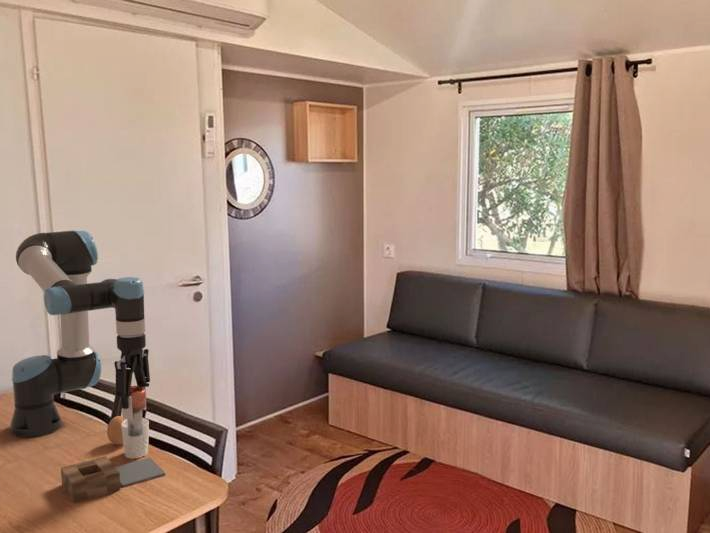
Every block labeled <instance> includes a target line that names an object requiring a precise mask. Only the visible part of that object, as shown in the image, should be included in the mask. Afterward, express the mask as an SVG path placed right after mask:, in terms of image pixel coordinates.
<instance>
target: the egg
mask: <svg viewBox="0 0 710 533" xmlns="http://www.w3.org/2000/svg"><path fill="white" fill-rule="evenodd" d="M125 420H126V419H123V418H122V415H117V416H115V417H113V418H112V419H111V420H110V422H109V423H108V425H107V429H106V430H107V432H106V435H107V438H108V440H109V441H110V443H111V444H114V445H116V446H118V445H123V438H122V427H121V424H122V422H124V421H125Z"/></svg>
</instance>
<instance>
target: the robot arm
mask: <svg viewBox="0 0 710 533" xmlns="http://www.w3.org/2000/svg"><path fill="white" fill-rule="evenodd" d="M98 260H99V254H98V248H97V245H96V242H95V240H94V238H93V236H92V235H91V233H89V232H88V231H86V230H75V229H74V230H66V231H53V232H51V231H50V232H40V233H35V234H33V235H30V236H28V237H27V238H25V239H24V240H23V241H21V243H20V244H19V246H18V247H17V249H16V253H15V261H16V263H17V264H16V265H17V266H18V268H19V269H20V270H21V271H22V272H23V273H24V274H26V275H29V276H30V277H31V278H32V279H33V280H34V282H35V283H36V284H37V285H38V286H39V287H40V289H41V290H42V291H43V293H44V295H43V303H44V306H45V307H44V308H45V309H46V312H47V314H49V315H50V316H57V315H58V316H59V315H60V317H59V318H60V335H61V336H60V337H61V338H60V340H61V347H60V348H59V349H58V350H57V351H56V357H55V358H52V356H50V355H47V354H43V355H33V356H29V357H26V358H24V359H22V360H21V359H20V360H19V361H18V362H17V363H15V364H14V365H13V366H12V375H11V381H12V386H13V387H12V389H13V399H14V411H13V414H12V417H11V422H10V424H9V425H10V426H9V427H10V428H9V429H10V430H9V431H10V434H11V435H13V436H14V437H19V438H34V437H35V438H36V437H41V436H44V435H47V434H50V433H53V432H55V431H57V430H59V429H60V427H62V418H61V415H60V412H59V411H58V408H57V406H56V404H55V395H57V394H63V393H66V392H67V393H68V392H73V391H77V390H84V389H86V388H89V387H93V386H96V384H98V382H99V381H100V378H101V374H102V362H101V357H100V354H99V353H98V352H97V351H95V348H94V347H93V346H91V345H90V330H89V325H90V324H89V311H96V310H97V311H98V310H103V309H110V308H111V309H112V308H113V309H114V311H115V312H114V313H115V314H114V315H115V325H116V326H115V327H116V348H117V349H118V350H119V351H120V352H121V353H120V359H119V361H117V360H115V361H114V364H113V365H114V368H115V369H114V370H115V397H116V398H120V399H121V400H120V402H121V417H122V418H123V419H125V420H127V419H133V411H132V396H130V390H131V386H132V382H133V381H132V380H133V376H134V379H135V382H136V386H143V387H145V388H146V387H147V388H149V386H150V381H151V377H150V376H151V375H150V374H151V373H150V365H149V349H148V348H146V344H147V343H146V342H147V341H146V334H145V332H146V320H145V319H146V318H145V296H144V295H145V289H144V285H143V283H144V282H143V280H142V279H141V278H139V277H134V276H133V277H129V276H128V277H127V276H126V277H119V278H117V279H116V278H106V279H103V280H102V281H99V282H90V283H88V276H89V275H90V274H91V273H92V267H93V266H95V265H97V264H98ZM133 374H134V375H133ZM146 410H147V406H146V407H145V408H144V409H142V411H146Z"/></svg>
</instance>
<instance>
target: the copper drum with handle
mask: <svg viewBox="0 0 710 533" xmlns="http://www.w3.org/2000/svg"><path fill="white" fill-rule="evenodd" d="M130 396H132V411H133V419H126V420H127V421H128V435H129V436H131V437H137V436H140V435H142V434H143V420H142V418H143V410H142V409H144V408H145V407H146V408H147V390H146V387H143V386H137V385H131V390H130Z"/></svg>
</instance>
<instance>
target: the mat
mask: <svg viewBox="0 0 710 533" xmlns="http://www.w3.org/2000/svg"><path fill="white" fill-rule="evenodd" d="M115 468H116V469H117V470H118V471H119V472H120V486H121V487H122V488H125V487H128V486H129V487H130V486H132V485H135V484H138V483H139V484H140V483H142V482H147V481H149V480H152V479H156V478H160V477H163V476H166V472H165V471H164V470H163V469H162V468H161V467H160V466H159V464H157V463H156V462H155V461H154V460H153V458H151V457H147V458H143V459H139V460H136V461H132V462H128V463H125V464H120V465H117V466H115Z"/></svg>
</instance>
